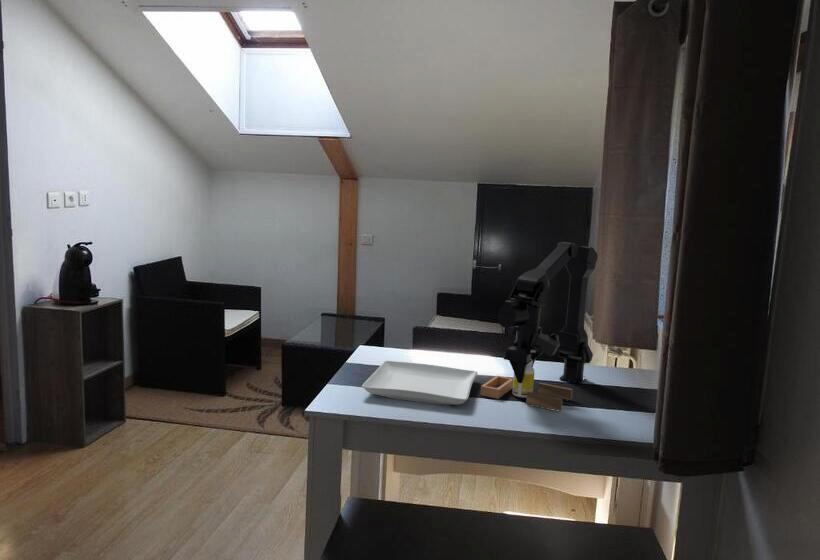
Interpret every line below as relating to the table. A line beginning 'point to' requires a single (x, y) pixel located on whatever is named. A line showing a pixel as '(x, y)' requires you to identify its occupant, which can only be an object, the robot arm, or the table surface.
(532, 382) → the supplement bottle
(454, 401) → the square plate
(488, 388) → the trap pit
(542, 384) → the walled lane
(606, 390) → the table surface
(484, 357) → the table surface
